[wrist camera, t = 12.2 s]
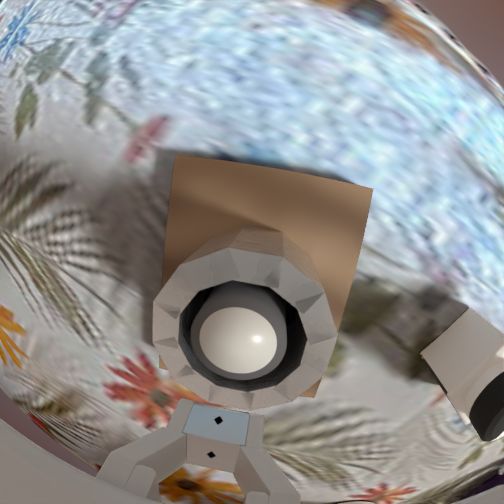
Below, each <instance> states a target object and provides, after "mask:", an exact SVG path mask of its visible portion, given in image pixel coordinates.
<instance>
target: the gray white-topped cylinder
mask: <svg viewBox="0 0 504 504" xmlns="http://www.w3.org/2000/svg"><path fill="white" fill-rule="evenodd" d="M191 343H192V347H193V349H194V352H195V354H196V355H197V357H198V358H199V360H200V361H201V362H202V363H203V364H204V365H205V366H206V367H207V368H209V369H210V370H211V371H213V372H215V373H217V374H219V375H221V376H223V377H226V378H230V379H236V380H249V379H255V378H258V377H261V376H264V375H266V374H268V373H269V372H271V371H272V370H273V369H275V368H276V367H277V366H278V365H279V363H280V362H281V360H282V359H283V357H284V354H285V351H286V346H287V328H286V300H285V299H284V298H283V297H281V296H280V295H279V294H278V293H276V292H275V291H274V290H273V289H271V288H270V287H267V286H262V285H256V284H251V283H245V282H240V281H235V280H231V281H228V282H225V283H222V284H218V285H215V287H214V288H213V290H212V292H211V293H210V295H209V296H208V298H207V300H206V301H205V303H204V304H203V306H202V308H201V309H200V311H199V312H198V314H197V316H196V317H195V319H194V321H193V324H192V327H191Z"/></svg>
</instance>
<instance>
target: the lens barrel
mask: <svg viewBox="0 0 504 504" xmlns="http://www.w3.org/2000/svg"><path fill="white" fill-rule="evenodd" d="M231 280H235V281H240V282H245V283H251V284H256V285H262V286H267V287H270V288H271V289H273V290H274V291H275V292H276V293H278V294H279V295H280V296H281V297H283V298H284V299H285V300H286V328H287V346H286V351H285V354H284V357H283V359H282V360H281V362H280V363H279V365H278V366H277V367H276V368H275V369H273V370H272V371H271V372H269V373H268V374H266V375H264V376H261V377H258V378H255V379H249V380H236V379H230V378H226V377H223V376H221V375H219V374H217V373H215V372H213V371H211V370H210V369H209V368H207V367H206V366H205V365H204V364H203V363H202V362H201V361H200V360H199V358H198V357H197V355H196V354H195V352H194V349H193V347H192V343H191V327H192V324H193V321H194V319H195V317H196V316H197V314H198V312H199V311H200V309H201V308H202V306H203V304H204V303H205V301H206V300H207V298H208V296H209V295H210V293H211V292H212V290H213V288H214V287H215V285H218V284H222V283H225V282H228V281H231ZM337 337H338V335H337V331H336V328H335V324H334V321H333V318H332V314H331V311H330V308H329V304H328V301H327V298H326V294H325V291H324V288H323V286H322V283H321V281H320V278H319V276H318V273H317V271H316V268H315V266H314V263H313V261H312V258H311V256H310V255H309V254H308V253H307V252H305V251H304V250H303V249H302V248H301V247H300V246H298V245H297V244H296V243H295V242H294V241H293V240H291V239H290V238H289V237H288V236H287V235H285V234H284V233H283V232H280V231H274V230H269V229H263V228H257V227H252V226H246V225H245V226H243V227H240V228H237V229H234V230H232V231H229V232H226V233H224V234H221V235H218V236H216V237H213V238H211V239H210V240H209V241H207V242H206V243H205V244H204V245H203V246H201V247H200V248H199V249H198V250H197V251H196V252H194V253H193V254H192V255H191V256H190V257H188V258H187V259H186V260H185V261H184V262H183V263H181V264H180V265H179V267H178V268H177V269H176V271H175V272H174V273H173V275H172V276H171V277H170V279H169V280H168V282H167V283H166V284H165V286H164V287H163V288H162V290H161V291H160V293H159V294H158V295H157V297H156V298H155V299H154V301H153V344H154V346H155V348H156V349H157V351H158V353H159V355H160V357H161V358H162V360H163V362H164V364H165V365H166V367H167V369H168V370H169V372H170V374H171V375H172V377H173V378H174V379H175V380H176V381H178V382H179V383H181V384H182V385H184V386H185V387H186V388H188V389H189V390H191V391H192V392H194V393H195V394H197V395H198V396H200V397H201V398H203V399H204V400H206V401H207V402H210V403H214V404H219V405H224V406H229V407H234V408H239V409H244V410H250V411H251V410H256V409H261V408H266V407H270V406H275V405H279V404H284V403H288V402H292V401H293V400H295V399H296V398H297V397H298V396H300V395H301V394H302V393H303V392H305V391H306V390H307V389H308V388H310V387H311V386H312V385H313V384H315V383H316V382H317V381H318V380H319V379H321V378H322V377H323V376H324V375H325V372H326V369H327V366H328V364H329V361H330V358H331V355H332V352H333V349H334V346H335V343H336V340H337Z"/></svg>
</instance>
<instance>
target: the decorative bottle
mask: <svg viewBox="0 0 504 504" xmlns="http://www.w3.org/2000/svg"><path fill="white" fill-rule="evenodd" d="M499 485H504V475H496V476H495V477H493V478H491V479H490V480H488V481H487V482H485V483H483V484H482V486H480V487H478V488H476V489H474V490H472V491H470V492H469V493H467V494H466V495H464V496H463V497H461V498H460V499H459V500H458V501H460V500H463V499H466V498H469V497H470V496H472V495H473V494H474V493H475V494H474V495H477V494H479V493H482V492H484V491H487V490H489V489H491V488H494V487H496V486H499Z"/></svg>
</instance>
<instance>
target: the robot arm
mask: <svg viewBox="0 0 504 504" xmlns="http://www.w3.org/2000/svg"><path fill="white" fill-rule="evenodd" d="M264 420H265V417H264V415H260V414H253V413H247V412H241V411H235V410H230V409H225V408H219V407H215V406H211V405H207V404H203V403H199V402H194V401H191V400H187V399H183V398H181V399H180V400H179V401H178V404H177V406H176V408H175V410H174V412H173V415H172V417H171V419H170V421H169V423H168V426H167V428H163V427H162V428H160V429H158V430H156V431H154V432H152V433H150V434H148V435H146V436H144V437H142V438H140V439H137V440H135V441H133V442H131V443H129V444H127V445H125V446H122V447H120V448H118V449H116V450H113V451H111V452H110V454H109V455H108V457H107V459H106V460H105V462H104V464H103V465H102V467H101V469H100V470H99V472H98V474H97V475H96V477H94V476H91V475H89V474H87V473H85V472H83V471H81V470H79V469H78V468H75V467H74V466H72V465H70V464H68V463H66V462H65V461H63V460H61V459H59V458H58V457H56V456H54V455H52V454H51V453H49V452H47V451H46V450H44V449H43V448H41V447H39V446H38V445H36V444H35V443H33V442H32V441H30V440H29V439H27V438H26V437H25V436H23V435H22V434H20V433H19V432H17V431H16V430H15V429H13V428H12V427H11V426H9V425H8V424H7V423H6V422H4V421H3V420H2V419H0V504H163V503H161V499H160V494H159V488H158V483H160V482H161V481H163V480H164V479H166V478H167V477H168V476H170V475H171V474H173V473H174V472H175V471H177V470H178V469H180V468H181V467H182V466H184V465H185V464H186V463H189V464H194V465H198V466H203V467H208V468H212V469H217V470H221V471H226V472H231V473H233V475H234V477H235V479H236V481H237V483H238V485H239V487H240V489H241V491H242V492H243V494H244V496H245V500H244V502H243V504H300V494H299V493H298V491H297V490H296V489H295V488H294V486H293V485H292V484H291V482H290V481H289V480H288V479H287V477H286V476H285V475H284V473H283V472H282V471H281V469H280V468H279V467H278V465H277V464H276V463H275V461H274V460H273V458H272V457H271V456H270V454H269V453H268V452H267V450H265V449H262V443H263V432H264ZM339 504H375V503H372V502H365V501H357V502H346V503H339ZM451 504H504V485H499V486H496V487H494V488H491V489H489V490H487V491H484V492H482V493H479V494H477V495H474V496H471V497H469V498H466V499H463V500H460V501H457V502H454V503H451Z"/></svg>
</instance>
